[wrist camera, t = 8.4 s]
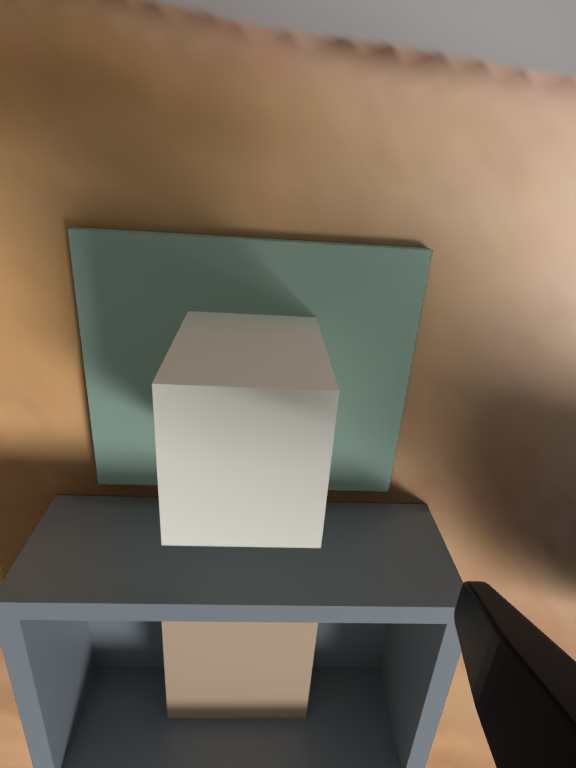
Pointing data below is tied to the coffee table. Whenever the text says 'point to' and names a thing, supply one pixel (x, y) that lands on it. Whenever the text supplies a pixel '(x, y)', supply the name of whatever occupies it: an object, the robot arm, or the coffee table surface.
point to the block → (244, 431)
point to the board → (245, 296)
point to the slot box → (229, 641)
